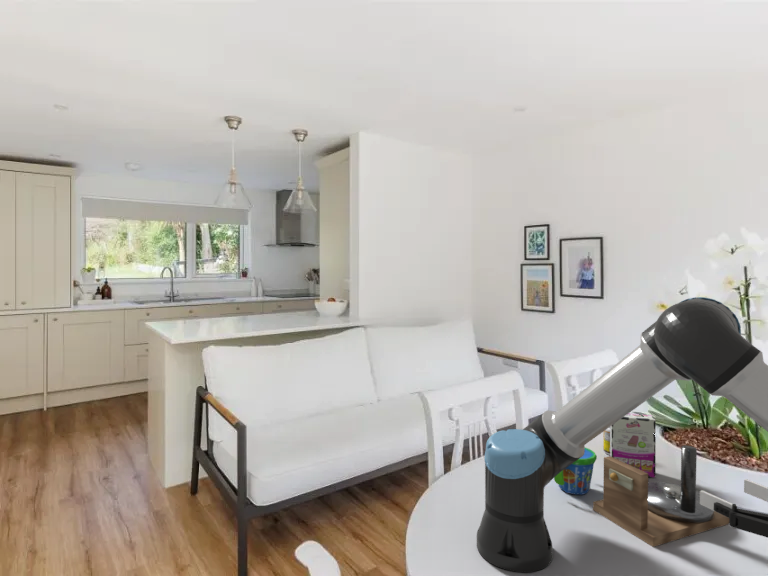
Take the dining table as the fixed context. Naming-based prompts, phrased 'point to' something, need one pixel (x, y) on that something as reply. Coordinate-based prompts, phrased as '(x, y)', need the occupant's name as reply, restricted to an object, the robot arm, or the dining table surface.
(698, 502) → the dial
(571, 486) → the snack cup
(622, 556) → the dining table surface
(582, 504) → the dining table surface
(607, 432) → the supplement bottle
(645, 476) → the levelling stand
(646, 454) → the candy bar box
